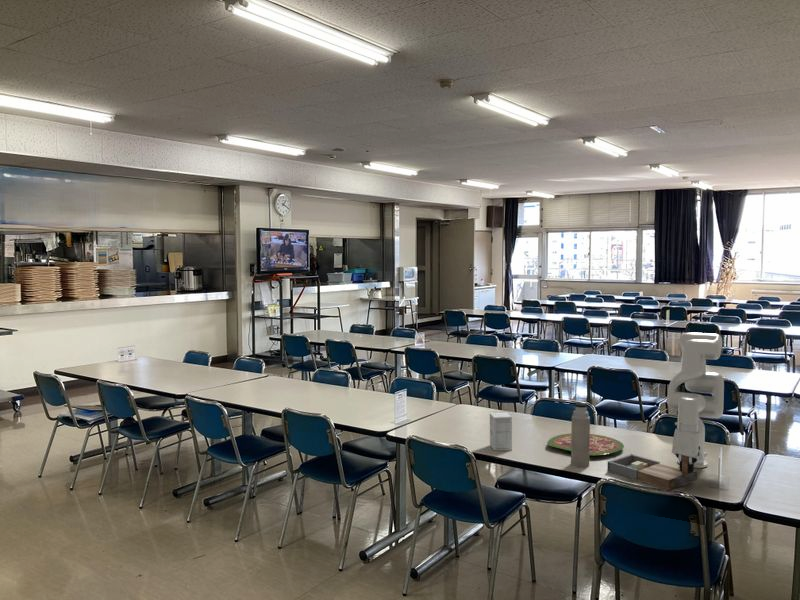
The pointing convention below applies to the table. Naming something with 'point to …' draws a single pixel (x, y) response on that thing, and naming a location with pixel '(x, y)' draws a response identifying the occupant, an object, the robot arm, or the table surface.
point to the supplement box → (500, 431)
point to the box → (628, 465)
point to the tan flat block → (659, 476)
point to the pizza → (597, 444)
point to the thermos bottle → (580, 437)
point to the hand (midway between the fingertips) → (686, 471)
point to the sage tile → (637, 465)
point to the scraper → (685, 474)
